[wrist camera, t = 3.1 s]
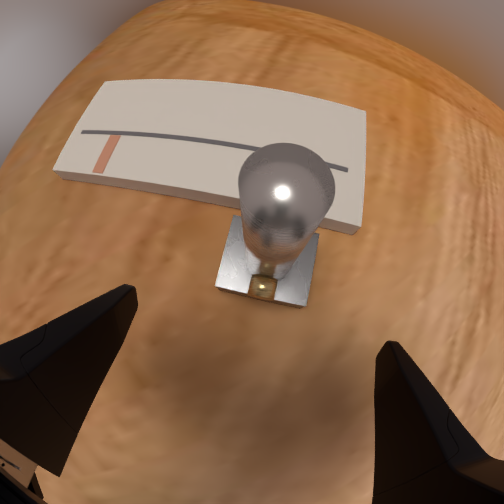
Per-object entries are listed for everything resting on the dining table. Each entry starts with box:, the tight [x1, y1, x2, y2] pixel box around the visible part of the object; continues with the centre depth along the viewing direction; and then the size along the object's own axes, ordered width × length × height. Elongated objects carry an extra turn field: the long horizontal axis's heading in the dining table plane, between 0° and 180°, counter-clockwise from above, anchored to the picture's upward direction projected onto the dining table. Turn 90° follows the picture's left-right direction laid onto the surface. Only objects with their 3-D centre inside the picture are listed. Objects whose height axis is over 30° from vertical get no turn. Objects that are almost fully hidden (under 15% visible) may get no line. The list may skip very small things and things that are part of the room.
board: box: [53, 79, 366, 235], centre depth 23 cm, size 28×12×2 cm, turn 77°
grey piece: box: [215, 143, 335, 308], centre depth 15 cm, size 8×6×13 cm
